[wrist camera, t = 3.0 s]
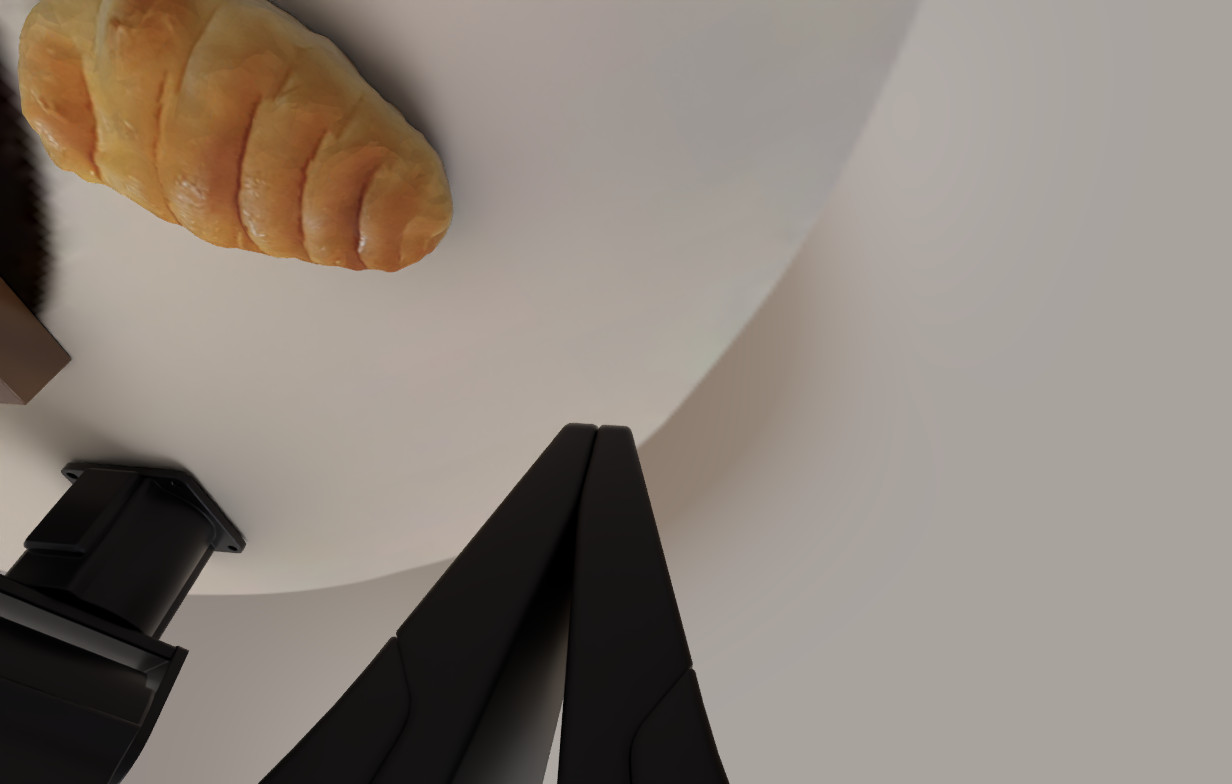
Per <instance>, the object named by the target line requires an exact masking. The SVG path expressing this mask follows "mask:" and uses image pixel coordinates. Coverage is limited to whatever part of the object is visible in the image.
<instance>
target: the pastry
mask: <svg viewBox="0 0 1232 784" xmlns="http://www.w3.org/2000/svg"><path fill="white" fill-rule="evenodd" d="M19 54H20V56H19V62H18V75H19V88H20V95H21V107H22V114H23V115H24V116H25V118H26V119H27V120H28V122H29V124H30V125H31V127H32V128H33V129H34V130H35V131H36V132H37V133H38V134H39V135H40V139H41V141H42V143H43V145H44V147H45V149H46V151H47V153H48V155H49V156H50V158H51V159H52V160H53V162H54V163H55V164H56V165H57V166H58V167H59V168H61V169H62V170H64V171H71V172H74V173H76V174H77V175H78V176H79V177H81V178H82V179H84V180H86V181H87V182H91V183H99V184H104V185H107V186H109V187H111V188H113V189H114V190H115V191H117V192H118V193H120V194H122V195H125V196H126V197H128V198H130V199H131V200H133V201H134V202H136V203H137V204H139V205H140V206H142V207H143V208H145V209H147V210H148V211H150V212H151V213H153V214H154V215H156V216H157V217H159V218H161V219H163V220H165V221H167V222H170V223H174V224H178V225H181V226H183V227H185V228H187V229H188V230H189V231H190V232H192V233H193V234H195V235H196V236H197V237H199V238H200V239H202V240H205V241H207V242H209V243H211V244H214V245H216V246H220V247H225V248H239V249H242V250H248V251H253V252H258V253H262V254H266V255H269V256H273V257H277V258H281V257H283V258H294V257H295V258H298V259H300V260H302V261H306V262H311V263H314V264H321V265H327V266H340V267H344V268H348V269H352V270H356V271H359V270H364V269H375V270H383V271H386V272H395V271H398V270H400V269H402V268H404V267H406V266H408V265H411V264H413V263H416V262H418V261H419V260H421V259H422V258H423V257H424V256H425V255H426V254H428V253H430V252H432V251H433V250H434V249H435V247H436V246H437V245H438V244H439V242H440V241H441V240H442V238H443V237H444V236H445V234H446V232H447V230H448V228H449V226H450V224H451V220H452V215H453V204H452V197H451V192H450V187H449V183H448V179H447V176H446V173H445V169H444V166H443V163H442V161H441V159H440V157H439V155H438V154H437V152H436V151H435V150H434V149H433V148H432V147H431V145H430V144H429V143H428V142H427V141H426V139H425V137H424V135H423V133H421V132H419V131H417V130H416V129H415V128H414V127H412V126H411V125H410V124H408V123H407V122H406V120H405V117H404V116H403V114H402V113H401V112H400V110H399V109H398V108H397V107H396V106H395V105H393V104H391V103H388V102H386V101H385V100H384V99H383V98H382V97H381V96H380V95H379V94H378V92H377V91H376V90H374V89H373V88H372V87H371V86H370V85H369V84H368V83H367V82H366V81H365V80H364V78H363V77H362V76H361V75H360V74H359V72H358V70H357V69H356V67H355V65H354V63H353V62H352V61H351V60H350V59H349V58H348V57H347V56H346V55H345V54H344V53H343V52H342V51H341V50H340V49H339V48H338V47H337V46H336V45H335V44H334V43H333V42H332V41H330V40H329V39H328V38H327V37H325V36H322V35H319V34H316V33H312V32H311V30H310V29H308V28H307V27H305V26H304V25H303V24H302V23H300V22H299V21H298V20H297V19H296V18H295V17H293V16H292V15H290V14H289V13H287V12H285V11H283V10H282V9H280V8H278V7H276V6H275V5H273V4H272V3H270V2H269V1H268V0H40V2H39V3H38V4H37V5H36V6H35V7H34V8H33V9H32V10H31V12H30V13H29V15H28V16H27V18H26V21H25V23H24V25H23V28H22V31H21V34H20V44H19Z"/></svg>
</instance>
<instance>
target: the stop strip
mask: <svg viewBox="0 0 1232 784" xmlns="http://www.w3.org/2000/svg"><path fill="white" fill-rule="evenodd" d="M70 361H71V358H70V357H69V356H68V354H67V353H66V352H65V351H64V350H63V349H62V348H61V346H60V345H59V344H58V343H57V342H56V341H55V339H54V338H53V337H52V336H51V335H50V334H49V332H48V331H47V330H46V329H45V328H44V327H43V325H42V324H41V323H40V322H39V321H38V320H37V319H36V317H35V316H34V315H33V314H32V313H31V312H30V310H29V309H28V308H27V307H26V306H25V305H24V303H23V302H22V301H21V300H20V299H19V298H18V296H17V295H16V294H15V293H14V292H13V291H12V290H11V288H10V287H9V286H8V285H7V284H6V283H5V281H4V280H3V279H2V278H1V277H0V403H4V404H19V405H26V404H27V403H28V402H29V401H30V400H31V399H32V398H33V397H34V396H35V395H36V394H37V393H38V392H39V391H40V390H41V389H42V388H43V387H44V386H45V385H46V384H47V383H48V382H49V381H50V380H51V379H52V378H53V377H54V376H55V375H56V374H58V373H59V372H60V371H61V370H62V369H63V368H64V367H65V366H66V365H67V364H68V363H69V362H70Z"/></svg>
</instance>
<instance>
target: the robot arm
mask: <svg viewBox="0 0 1232 784" xmlns="http://www.w3.org/2000/svg"><path fill="white" fill-rule="evenodd" d="M61 473H62V474H63V475H64V476H65V477H66V478H67V479H68V480H69V481H70V482H71V483H72V486H71V487H70V488H69V489H68V490H67V491H66V493H65V494H64V495H63V496H62V497H61V498H60V500H59V501H58V502H57V503H56V504H55V506H54V507H53V508H52V509H51V510H50V511H49V513H48V514H47V515H46V516H45V517H44V518H43V520H42V521H41V522H40V523H39V524H38V526H37V527H36V528H35V529H34V530H33V531H32V533H31V534H30V535H29V536H28V537H27V538H26V540H25V542H24V547H25V548H26V549H27V550H26V551H25V552H24V553H23V554H22V555H21V557H20V558H19V559H18V560H17V561H16V563H15V564H14V565H13V566H12V567H11V569H10V570H9V571H8V572H7V573H6V575H5V576H4V575H2V574H0V784H120V782H121V781H122V780H123V779H124V777H125V776H126V774H127V773H128V772H129V770H130V769H131V767H132V766H133V764H134V763H135V761H136V760H137V758H138V756H139V755H140V753H141V751H142V750H143V748H144V746H145V744H146V742H147V740H148V738H149V736H150V734H151V732H152V730H153V728H154V726H155V723H156V721H157V719H158V717H159V715H160V713H161V711H162V708H163V706H164V704H165V702H166V700H167V698H168V696H169V693H170V691H171V689H172V687H173V685H174V683H175V680H176V678H177V676H178V674H179V672H180V670H181V667H182V665H183V663H184V661H185V659H186V657H187V654H188V652H189V650H187V649H184V648H182V647H180V646H176V647H174V646H172V645H169V644H167V643H165V642H162V641H160V640H159V639H160V637H161V635H162V634H163V632H164V631H165V629H166V627H167V626H168V624H169V622H170V621H171V619H172V618H173V616H174V614H175V613H176V611H177V610H178V608H179V606H180V605H181V603H182V602H183V600H184V598H185V597H186V595H187V594H188V592H189V590H190V589H191V587H192V586H193V584H194V582H195V581H196V579H197V577H198V576H199V574H200V573H201V571H202V569H203V568H204V566H205V565H206V563H207V561H208V560H209V558H210V557H211V555H212V553H213V552H214V551H220V552H230V553H241V552H242V551H243V549H244V548H245V546H246V543H245V541H244V540H243V539H242V538H241V536H240V535H239V534H238V533H237V532H236V530H235V529H234V528H233V527H232V526H231V524H230V523H229V522H228V521H227V520H226V518H225V517H224V516H223V515H222V514H221V512H220V511H219V510H218V509H217V508H216V506H215V505H214V504H213V503H212V502H211V500H210V499H209V498H208V497H207V496H206V494H205V493H204V492H203V491H202V490H201V488H200V487H199V486H198V485H197V484H196V482H195V481H194V480H193V479H192V478H191V477H190V476H189V475H187V474H186V473H183V472H181V471H173V470H161V469H148V468H135V467H122V466H110V465H97V464H84V463H68V464H66V466H65V467H64V468H63V469H62V470H61ZM396 635H397V638H396V637H391V638H390V639H389V640H388V642H387V643H386V644H385V645H384V647H383V648H382V649H381V650H380V652H379V653H378V654H377V655H376V657H375V658H374V659H373V660H372V662H371V663H370V664H369V665H368V666H367V667H366V669H365V670H364V671H363V672H362V674H360V676H359V677H358V678H357V679H356V680H355V681H354V683H353V684H352V685H351V686H350V687H349V688H348V689H347V691H346V692H345V693H344V694H343V695H342V697H341V698H340V699H339V700H338V701H337V702H336V703H335V705H334V706H333V707H332V708H331V709H330V710H329V711H328V712H327V713H326V714H325V715H324V716H323V717H322V718H321V719H320V720H319V721H318V722H317V723H316V725H315V726H314V727H313V728H312V729H311V730H310V731H309V732H308V733H307V734H306V735H305V736H304V737H303V738H302V739H301V740H300V741H299V742H298V743H297V745H296V746H295V747H294V748H293V749H292V750H291V751H290V752H289V753H288V754H287V755H286V756H285V757H284V758H283V759H282V760H281V761H280V762H279V763H278V764H277V765H276V766H275V767H274V768H273V769H272V770H271V771H270V772H269V773H268V774H267V775H266V776H265V777H264V778H263V779H262V780H261V781H260V782H259V783H258V784H542V783H543V779H544V775H545V771H546V767H547V762H548V759H549V754H550V750H551V746H552V742H553V738H554V734H555V730H556V726H557V721H558V717H559V713H560V709H561V705H562V701H563V700H564V701H563V713H562V726H561V739H560V753H559V767H558V781H557V784H729V781H728V778H727V776H726V773H725V770H724V768H723V765H722V762H721V759H720V756H719V754H718V750H717V747H716V744H715V740H714V737H713V734H712V730H711V727H710V724H709V720H708V717H707V714H706V710H705V707H704V704H703V700H702V696H701V692H700V689H699V684H698V681H697V677H696V673H695V671H694V670H693V669H692V665H693V663H692V659H691V655H690V651H689V648H688V644H687V640H686V636H685V632H684V629H683V625H682V621H681V617H680V613H679V610H678V606H677V602H676V598H675V594H674V591H673V587H672V583H671V579H670V575H669V572H668V568H667V564H666V561H665V557H664V553H663V549H662V545H661V542H660V537H659V534H658V530H657V526H656V522H655V518H654V515H653V511H652V507H651V503H650V499H649V496H648V492H647V488H646V484H645V480H644V477H643V473H642V469H641V466H640V462H639V458H638V454H637V450H636V446H635V442H634V439H633V435H632V432H631V429H630V428H629V427H627V426H615V425H602V426H600V428H598V427H597V426H596V425H594V424H582V423H569V424H567V425H565V426H564V427H563V428H562V430H561V431H560V432H559V433H558V435H557V436H556V437H555V438H554V439H553V441H552V442H551V443H550V444H549V446H548V447H547V448H546V449H545V450H544V452H543V453H542V454H541V455H540V457H539V458H538V459H537V460H536V461H535V463H534V464H533V465H532V466H531V468H530V469H529V470H528V471H527V472H526V474H525V475H524V476H523V477H522V479H521V480H520V481H519V482H518V483H517V485H516V486H515V487H514V488H513V490H512V491H511V492H510V493H509V494H508V496H507V497H506V498H505V499H504V501H503V502H502V503H501V504H500V505H499V507H498V508H497V509H496V510H495V512H494V513H493V514H492V515H491V516H490V518H489V519H488V520H487V521H486V522H485V524H484V525H483V526H482V527H481V529H480V530H479V531H478V532H477V533H476V535H475V536H474V537H473V538H472V540H471V541H470V542H469V543H468V544H467V546H466V547H465V548H464V549H463V551H462V552H461V553H460V554H459V555H458V557H457V558H456V559H455V560H454V562H453V563H452V564H451V565H450V566H449V568H448V569H447V570H446V571H445V573H444V574H443V575H442V576H441V578H440V579H439V580H438V581H437V582H436V584H435V585H434V586H433V587H432V588H431V590H430V591H429V592H428V593H427V595H426V596H425V597H424V598H423V600H422V601H421V602H420V603H419V605H418V606H417V607H416V608H415V609H414V611H413V612H412V613H411V614H410V615H409V617H408V618H407V619H406V620H405V621H404V623H403V624H402V625H401V626H400V628H399V629H398V630H397V632H396ZM563 697H564V699H563Z"/></svg>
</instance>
